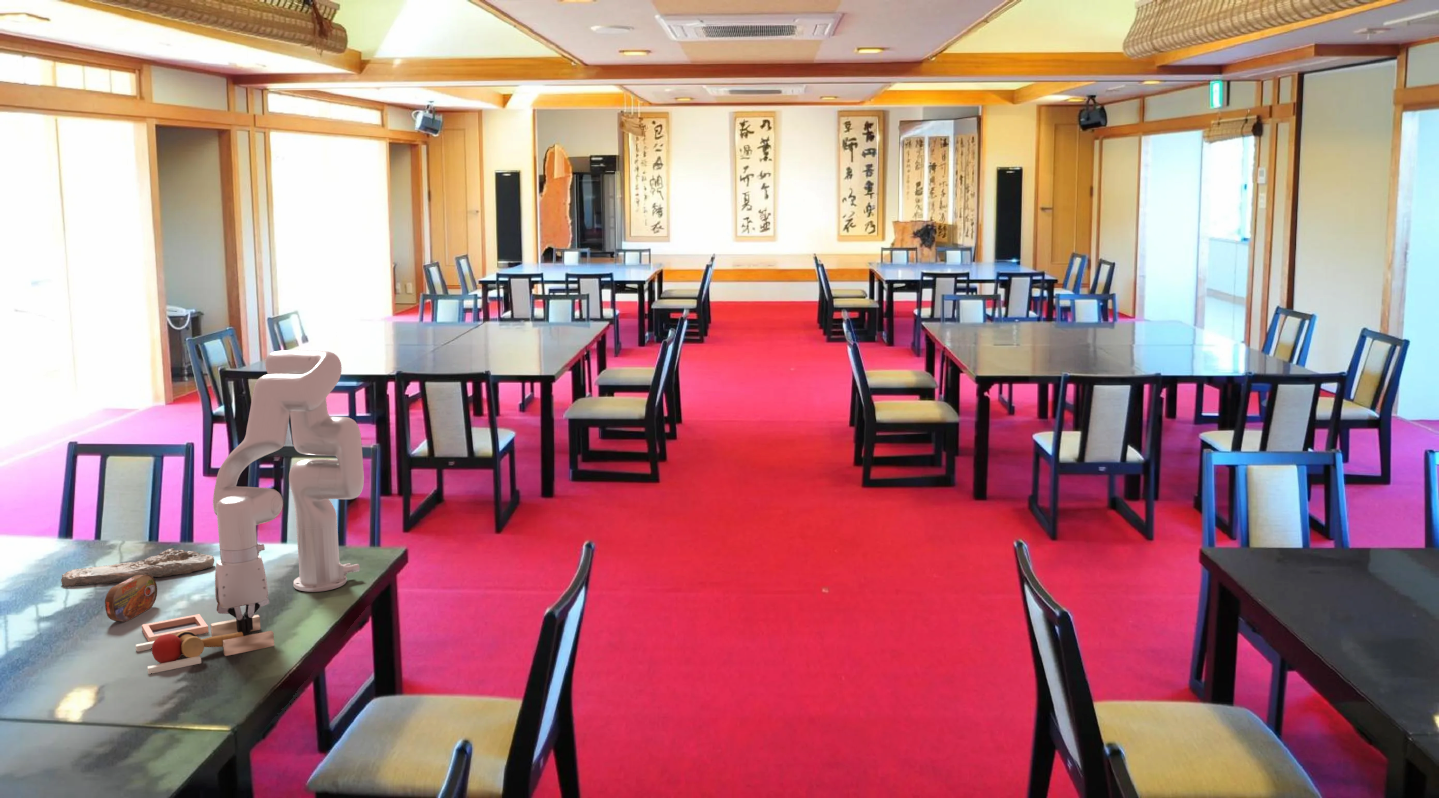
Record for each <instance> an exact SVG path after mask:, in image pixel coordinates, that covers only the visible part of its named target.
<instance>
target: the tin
mask: <svg viewBox="0 0 1439 798" xmlns="http://www.w3.org/2000/svg"><path fill="white" fill-rule="evenodd" d="M157 596H158V586H157V582H156V580H155V577H152V576H150V575H136V576H134V577H132V578H130V579H128V580H126V581H124V582H119V583H118V584H116V585H114V586H112V587H111V588H110V589H109V590H108V591H107V594H106V595H105V599H104V608H105V611H106V612H105V613H106V615H107V617H108V618H109V620H111V621H115V622H122V623H125V622H128V621H130V620H133V619H134V618H136V617H137V616H139V615H141V614H143V613H145V612H146V611H148V610H150V609H151V608H152V607H153V606H154V605H155V602H156V600H157Z"/></svg>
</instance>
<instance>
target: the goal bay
mask: <svg viewBox="0 0 1439 798" xmlns="http://www.w3.org/2000/svg"><path fill="white" fill-rule="evenodd" d="M153 643H154V641H152V642H148V641H146V642H143V643H137V644H135V650H136V652H143V651H147V650H152V649H151V648H152V645H153ZM198 664H199V665H200V664H202V658H201V655H199V656H196V657H191V658H188V657H186V658H182V659H178V660H176V661H172V662H167V663H158V664H154V665H148V666H146V667H147V673H148V675H150V674H151V673H152V674H156V673H161V672H165V671H170V670H175V669H180V668H184V667H185V668H186V667H189V666H193V665H198Z"/></svg>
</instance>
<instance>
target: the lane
mask: <svg viewBox="0 0 1439 798" xmlns="http://www.w3.org/2000/svg"><path fill="white" fill-rule="evenodd" d="M260 617H261V616H260V615H259V614H254V616H253V617H252V622H253V630H251V632H254V631H255V632H256V631H260V630H262V629H261V628H262V627H261V618H260ZM210 632H211V634H210V635H211V637H214V636H221V635H226V634H232V633H237V624H236V618H234V619H229V620H228V619H227V620H223V621H219V622H213V623H210ZM274 637H275V636H274V631H273V630H267V631H263V632H259V633H258V632H257V633H252V634H251V635H247V636H242V637H237V638H232V639H227V640H223V647H222V648H223V655H224V656H225V657H228V656H231V655H239V654H242V653H246V652H251V651H256V650H261V649H265V648H271V647H275V638H274Z"/></svg>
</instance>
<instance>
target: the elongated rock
mask: <svg viewBox="0 0 1439 798" xmlns="http://www.w3.org/2000/svg"><path fill="white" fill-rule="evenodd" d="M214 565H215V558H214V556H213V555H211V554H205V553H199V552H198V551H197V552H196V551H194V550H192V551H191V550H187V551H185V550H183V549H178V550H175V548H173V547H172V548H168V549H166V550H163V551H162V552H159V553H158V555H151V556H149V557H147V558H145V559H142V560H138V561H135V562H134V561H133V562H130V561H129V562H122V563H115V564H114V563H113V564H110V565H109V564H108V565H99V566H92V567H87V568H73V569H71V570H68V571H66V572H65V573H63V574H61V578H60V581H61V585H62V586H64V587H66V588H67V587H69V588H72V587H74V586H87V585H98V584H99V585H100V584H111V583H122V582H124V581H126V580H128V579H130V578H132V577H134V576H136V575H150V576H152V577H153V578H163V577H170V576H173V575H175V576H177V575H185V574H187V573H188V574H192V573H193V572H197V571H202V570H205V569H209V568H213V566H214Z"/></svg>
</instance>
